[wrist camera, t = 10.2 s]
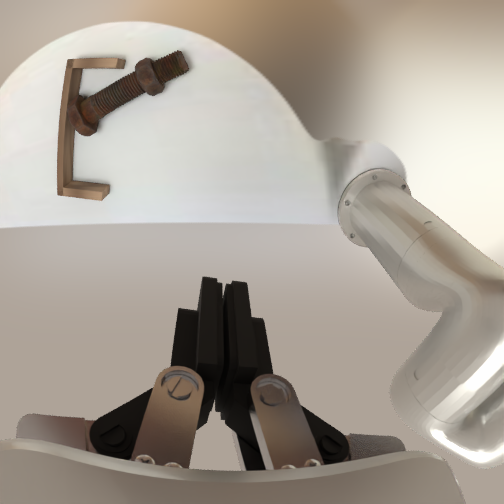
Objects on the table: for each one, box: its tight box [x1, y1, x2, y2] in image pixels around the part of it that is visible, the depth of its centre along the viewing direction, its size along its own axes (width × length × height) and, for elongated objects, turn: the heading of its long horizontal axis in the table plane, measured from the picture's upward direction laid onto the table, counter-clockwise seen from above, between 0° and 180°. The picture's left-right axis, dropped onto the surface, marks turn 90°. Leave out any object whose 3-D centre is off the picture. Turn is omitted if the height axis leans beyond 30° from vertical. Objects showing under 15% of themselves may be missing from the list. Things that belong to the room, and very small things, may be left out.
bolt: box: [67, 50, 189, 136], centre depth 29 cm, size 6×5×15 cm
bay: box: [57, 58, 125, 201], centre depth 31 cm, size 7×18×3 cm, turn 167°
